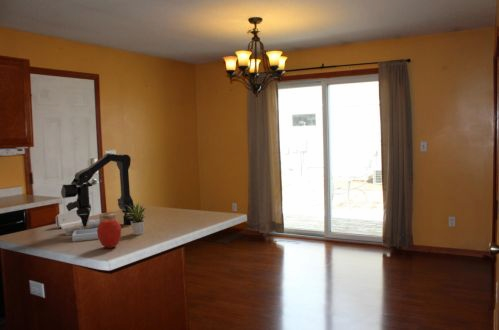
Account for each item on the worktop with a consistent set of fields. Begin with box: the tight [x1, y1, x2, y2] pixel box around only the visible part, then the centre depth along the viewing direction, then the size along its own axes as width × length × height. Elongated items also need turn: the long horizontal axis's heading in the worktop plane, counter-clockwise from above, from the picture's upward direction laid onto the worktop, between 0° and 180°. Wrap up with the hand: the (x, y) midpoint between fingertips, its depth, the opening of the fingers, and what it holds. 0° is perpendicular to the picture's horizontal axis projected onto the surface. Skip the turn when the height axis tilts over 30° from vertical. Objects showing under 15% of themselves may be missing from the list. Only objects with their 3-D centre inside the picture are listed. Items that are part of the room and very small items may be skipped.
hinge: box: [55, 209, 82, 230], centre depth 237 cm, size 17×5×10 cm, turn 146°
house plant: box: [126, 202, 147, 236], centre depth 212 cm, size 14×14×16 cm
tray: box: [71, 228, 99, 242], centre depth 207 cm, size 17×11×3 cm, turn 109°
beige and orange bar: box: [80, 218, 100, 229], centre depth 219 cm, size 12×4×4 cm, turn 109°
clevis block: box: [64, 212, 117, 236], centre depth 219 cm, size 25×8×8 cm, turn 109°
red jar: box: [97, 219, 122, 249], centre depth 185 cm, size 10×10×14 cm
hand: (85, 224), depth 218 cm, fingers open, 9 cm apart
